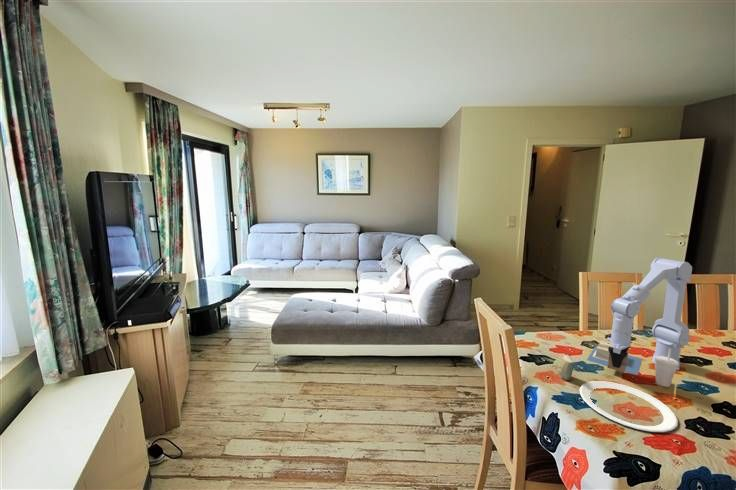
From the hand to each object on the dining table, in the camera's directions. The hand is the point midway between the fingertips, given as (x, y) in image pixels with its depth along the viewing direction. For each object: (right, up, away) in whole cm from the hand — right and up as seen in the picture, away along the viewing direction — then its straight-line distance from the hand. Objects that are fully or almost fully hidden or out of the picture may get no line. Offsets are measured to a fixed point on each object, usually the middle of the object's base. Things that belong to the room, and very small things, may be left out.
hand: (617, 364), depth 120 cm
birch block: (+6, -2, +12) cm, 14 cm away
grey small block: (-21, -5, -1) cm, 21 cm away
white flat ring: (-11, -8, -17) cm, 21 cm away
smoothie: (+12, -5, -6) cm, 14 cm away
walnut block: (0, -1, 0) cm, 2 cm away
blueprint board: (+7, -3, +10) cm, 13 cm away
